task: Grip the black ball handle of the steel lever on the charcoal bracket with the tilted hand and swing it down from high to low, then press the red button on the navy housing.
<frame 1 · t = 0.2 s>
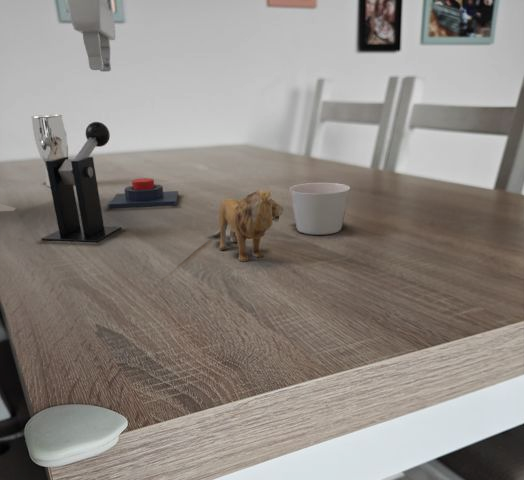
hand: (101, 70, 84), 23 cm above the table, tool pointing down, fingers open, 8 cm apart
beer glass: (60, 185, 129), on the table
button: (143, 184, 103), point 4 cm above the table, slide at 0.1 cm
lever: (85, 151, 83), point 12 cm above the table, hinge at 25.0°
bracket: (83, 240, 84), on the table
white ramekin: (318, 231, 85), on the table
lion figurine: (245, 253, 76), on the table
button box: (146, 206, 105), on the table
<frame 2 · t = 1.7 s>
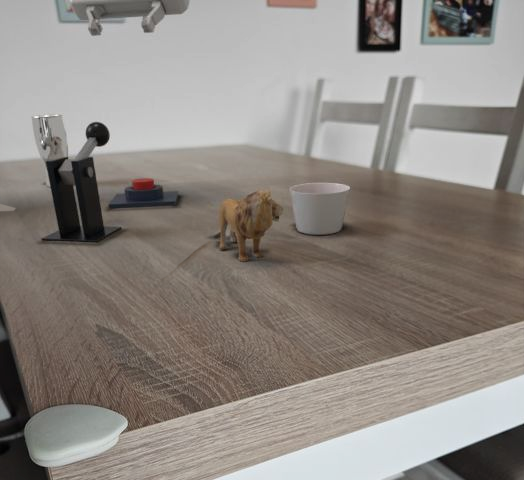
hand: (120, 30, 90), 29 cm above the table, tool tilted 45°, fingers open, 8 cm apart
nothing on the table moved.
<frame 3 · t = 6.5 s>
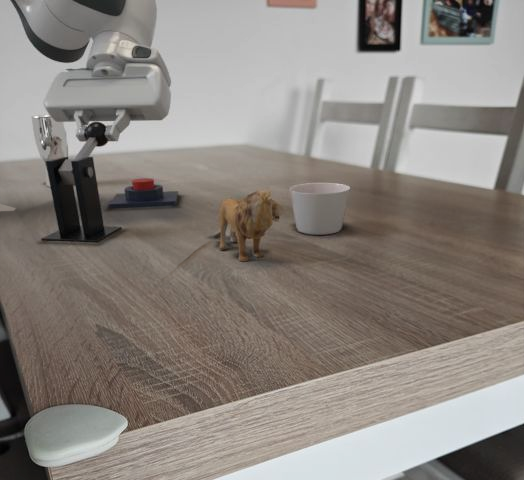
hand: (96, 139, 85), 14 cm above the table, tool tilted 45°, fingers closed on lever, 3 cm apart
lever: (85, 151, 83), point 12 cm above the table, hinge at 25.0°, touching gripper
everything else where it was.
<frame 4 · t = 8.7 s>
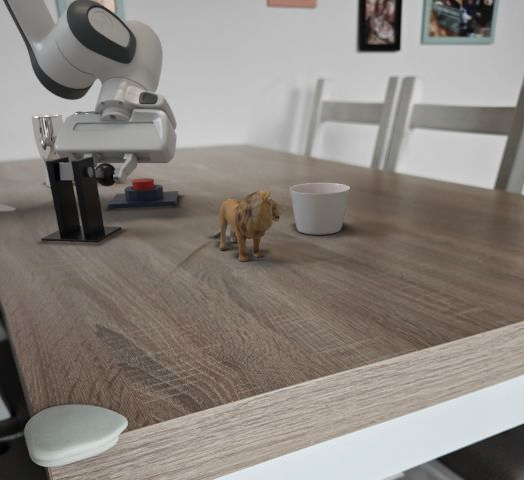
hand: (105, 181, 89), 7 cm above the table, tool tilted 45°, fingers closed on lever, 3 cm apart
lever: (90, 173, 84), point 9 cm above the table, hinge at -11.3°, touching gripper
everything else where it was.
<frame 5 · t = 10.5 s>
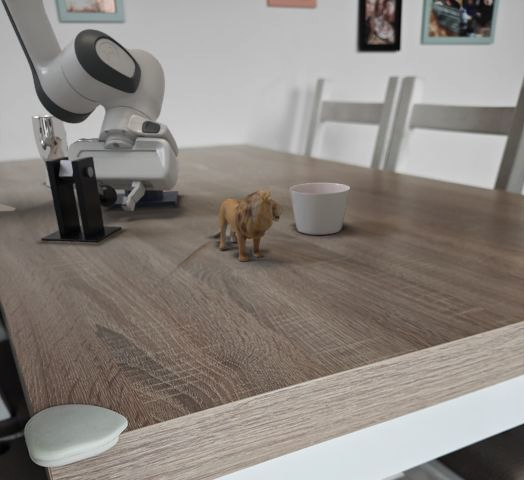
hand: (108, 208, 90), 3 cm above the table, tool tilted 45°, fingers open, 5 cm apart
lever: (90, 185, 85), point 7 cm above the table, hinge at -30.5°
everything else where it was.
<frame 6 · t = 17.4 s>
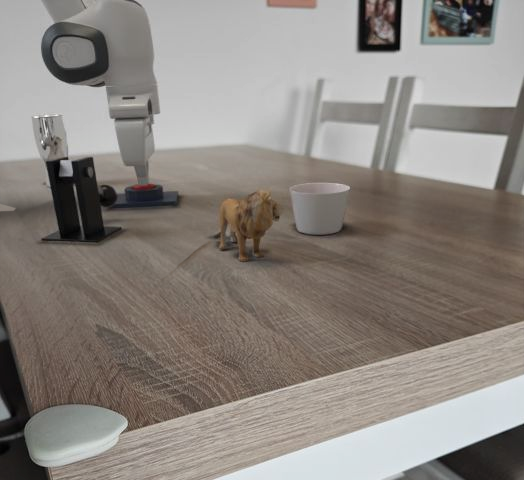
hand: (144, 184, 103), 4 cm above the table, tool pointing down, fingers closed, pressing on button
button: (144, 190, 104), point 3 cm above the table, slide at -0.8 cm, touching gripper
everything else where it was.
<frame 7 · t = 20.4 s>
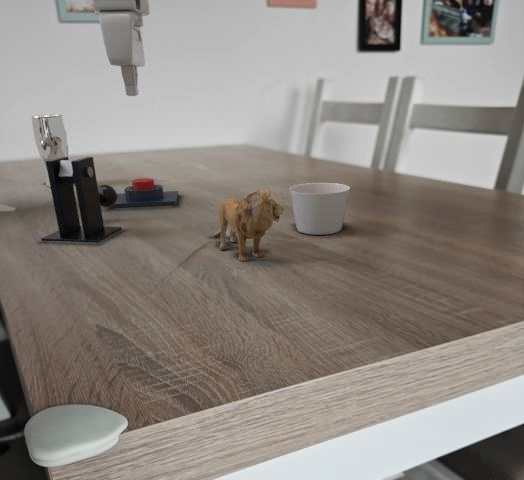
hand: (132, 95, 96), 19 cm above the table, tool pointing down, fingers closed
button: (143, 184, 103), point 4 cm above the table, slide at 0.1 cm
everything else where it was.
at the end: lever at -30° (first picture: +25°); button pushed in 1.0 cm at the most during the clip, back to where it started at the end; button slide at 0.1 cm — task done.
